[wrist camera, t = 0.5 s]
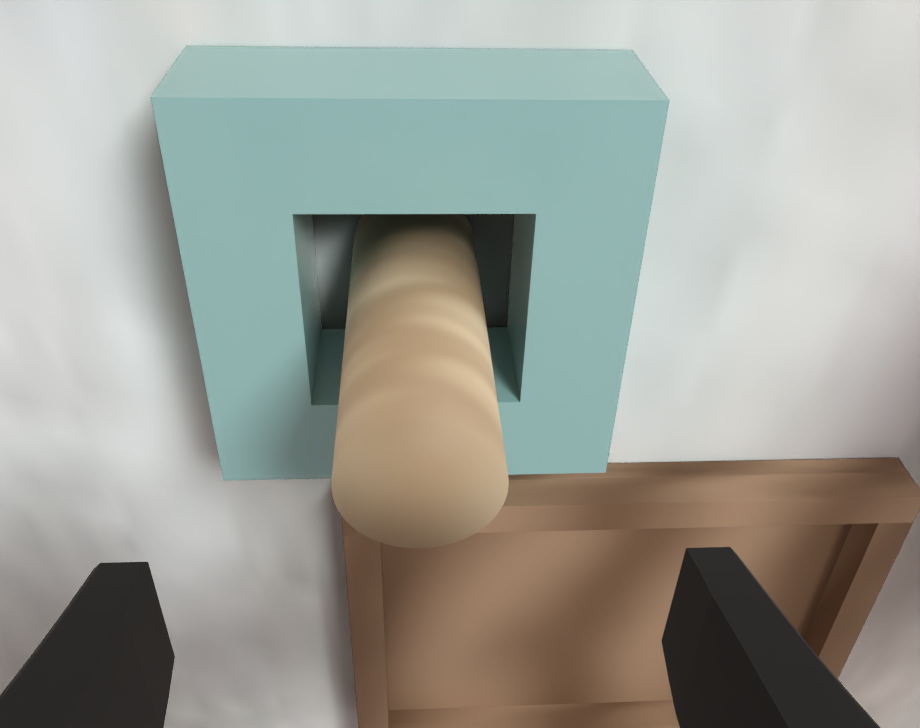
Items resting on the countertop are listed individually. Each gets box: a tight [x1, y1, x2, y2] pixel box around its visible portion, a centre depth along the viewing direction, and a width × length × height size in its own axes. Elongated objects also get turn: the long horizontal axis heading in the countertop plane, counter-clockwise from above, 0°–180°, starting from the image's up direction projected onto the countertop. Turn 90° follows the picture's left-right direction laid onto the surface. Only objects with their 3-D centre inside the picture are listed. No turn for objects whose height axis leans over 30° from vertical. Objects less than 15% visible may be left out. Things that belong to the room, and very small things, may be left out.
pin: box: [331, 214, 509, 548], centre depth 17 cm, size 3×3×8 cm
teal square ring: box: [151, 46, 669, 480], centre depth 19 cm, size 9×9×3 cm
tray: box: [342, 458, 920, 728], centre depth 27 cm, size 16×12×2 cm
